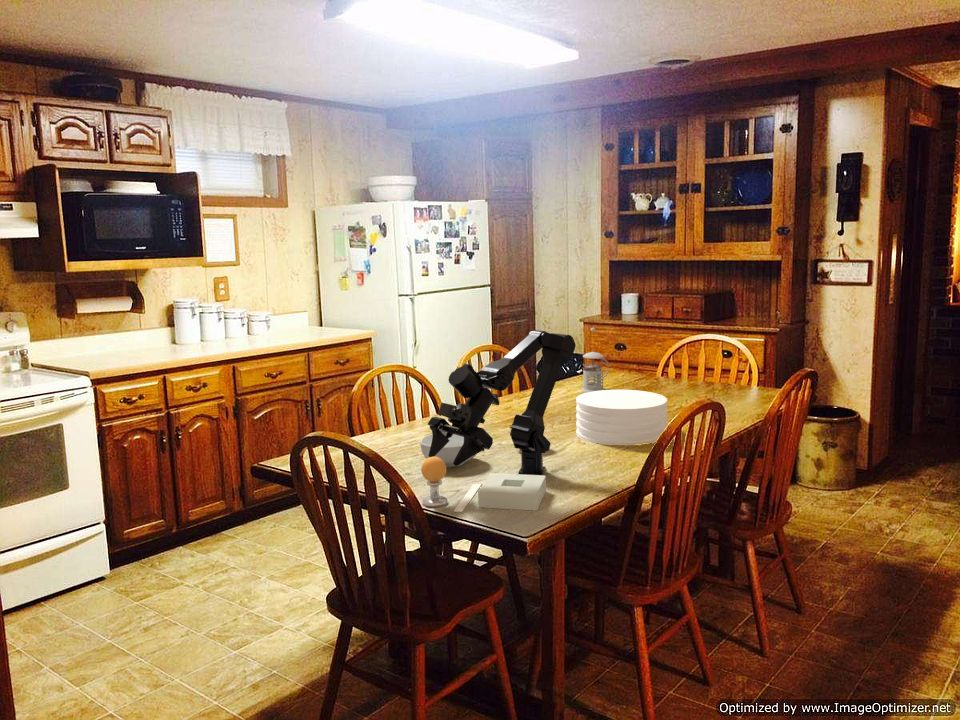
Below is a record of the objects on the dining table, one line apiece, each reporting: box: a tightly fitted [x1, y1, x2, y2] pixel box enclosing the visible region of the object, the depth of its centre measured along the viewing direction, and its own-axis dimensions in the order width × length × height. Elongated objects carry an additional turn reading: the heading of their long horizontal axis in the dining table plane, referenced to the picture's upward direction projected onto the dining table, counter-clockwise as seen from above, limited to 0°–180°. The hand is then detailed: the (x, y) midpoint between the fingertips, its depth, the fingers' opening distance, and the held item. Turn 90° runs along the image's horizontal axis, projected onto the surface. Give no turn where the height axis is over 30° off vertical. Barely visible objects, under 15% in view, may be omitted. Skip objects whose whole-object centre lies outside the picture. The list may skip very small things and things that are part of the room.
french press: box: [580, 327, 610, 393], centre depth 317 cm, size 10×12×25 cm
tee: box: [421, 479, 448, 508], centre depth 193 cm, size 6×6×6 cm
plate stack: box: [575, 389, 668, 446], centre depth 252 cm, size 28×28×12 cm
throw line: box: [453, 483, 482, 513], centre depth 197 cm, size 20×2×1 cm, turn 167°
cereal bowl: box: [420, 433, 478, 468], centre depth 226 cm, size 17×17×7 cm
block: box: [477, 472, 547, 511], centre depth 195 cm, size 14×14×4 cm
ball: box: [420, 457, 447, 482], centre depth 192 cm, size 6×6×6 cm
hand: (441, 461), depth 194 cm, fingers open, 9 cm apart
